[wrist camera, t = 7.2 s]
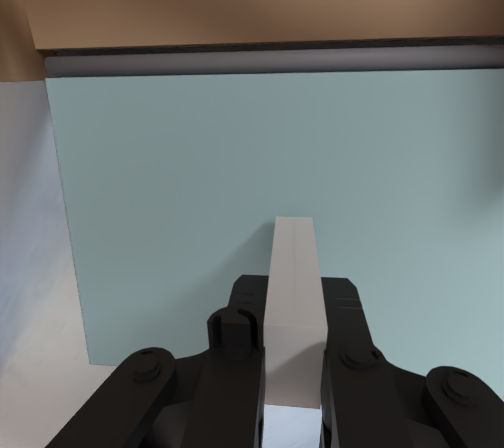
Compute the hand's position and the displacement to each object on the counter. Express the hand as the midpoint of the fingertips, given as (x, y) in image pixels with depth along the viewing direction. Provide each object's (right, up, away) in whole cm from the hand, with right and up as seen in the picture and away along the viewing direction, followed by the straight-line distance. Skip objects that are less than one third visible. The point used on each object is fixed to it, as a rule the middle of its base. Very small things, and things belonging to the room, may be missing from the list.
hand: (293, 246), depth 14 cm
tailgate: (0, +7, -1) cm, 7 cm away
